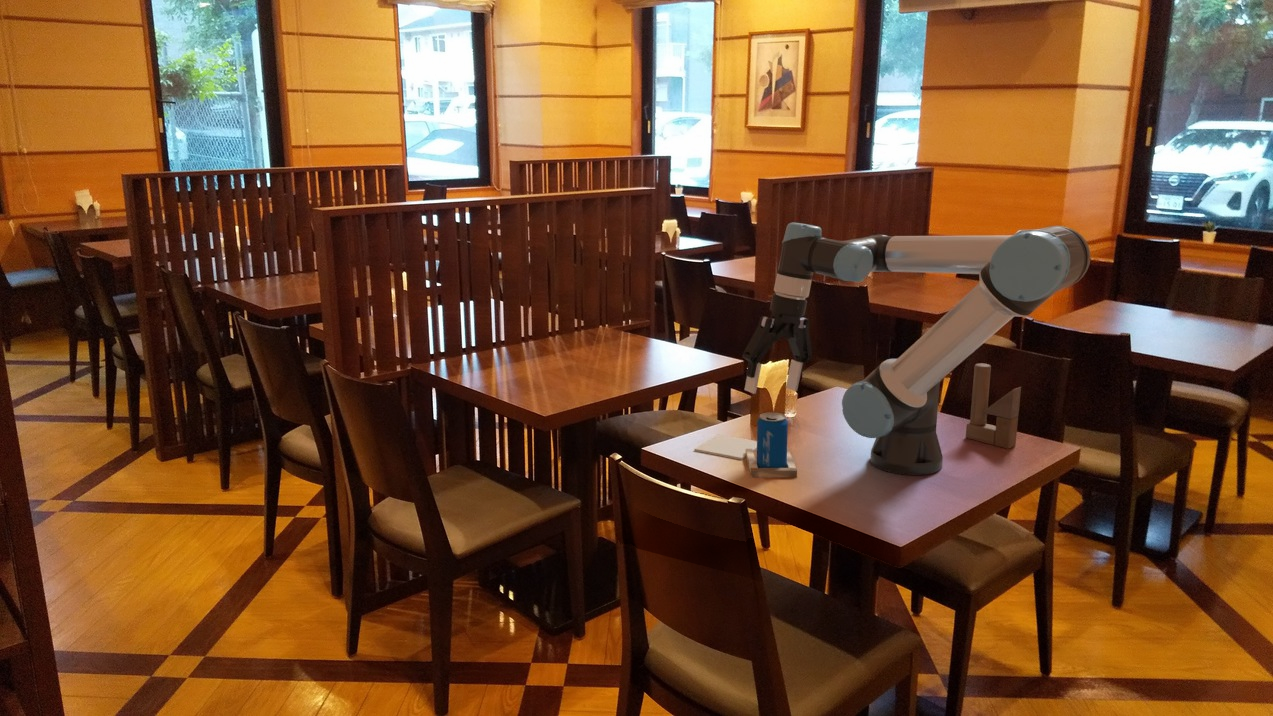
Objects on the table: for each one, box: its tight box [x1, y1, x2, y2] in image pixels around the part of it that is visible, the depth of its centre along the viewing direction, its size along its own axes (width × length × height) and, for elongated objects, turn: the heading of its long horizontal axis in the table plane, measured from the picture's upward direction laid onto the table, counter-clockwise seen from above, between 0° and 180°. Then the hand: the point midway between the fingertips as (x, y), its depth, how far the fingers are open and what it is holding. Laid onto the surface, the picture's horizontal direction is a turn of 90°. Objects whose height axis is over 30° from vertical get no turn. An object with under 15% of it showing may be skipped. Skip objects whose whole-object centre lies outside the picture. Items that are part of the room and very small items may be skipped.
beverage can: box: [756, 412, 789, 468], centre depth 193 cm, size 6×6×12 cm
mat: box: [693, 433, 757, 461], centre depth 208 cm, size 12×12×1 cm
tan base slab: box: [745, 448, 798, 478], centre depth 196 cm, size 14×10×2 cm
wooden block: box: [965, 362, 1022, 450], centre depth 207 cm, size 4×11×18 cm, turn 40°
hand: (771, 390), depth 196 cm, fingers open, 13 cm apart
